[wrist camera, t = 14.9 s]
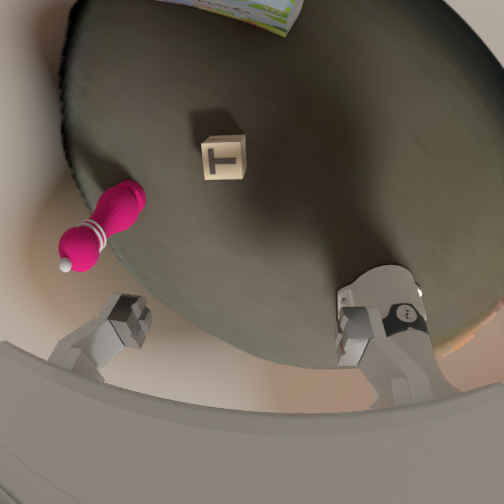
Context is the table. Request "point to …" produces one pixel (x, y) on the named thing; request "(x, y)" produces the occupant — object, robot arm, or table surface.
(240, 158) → the letter cube
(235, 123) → the table surface
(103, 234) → the pepper mill
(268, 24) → the snack box
